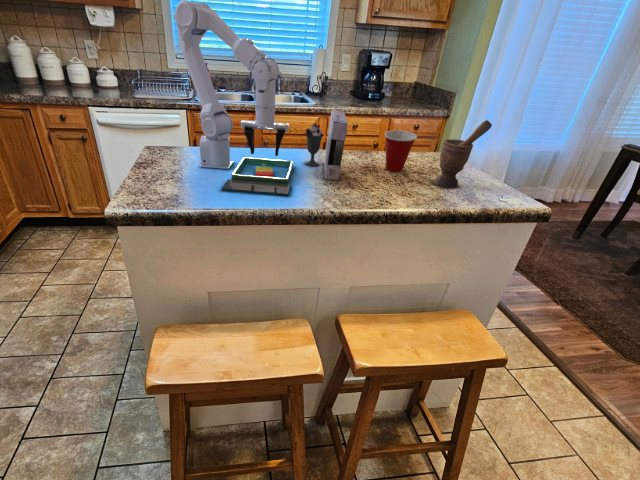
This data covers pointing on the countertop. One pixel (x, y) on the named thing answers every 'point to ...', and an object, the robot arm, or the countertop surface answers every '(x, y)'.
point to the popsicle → (264, 171)
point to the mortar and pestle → (457, 156)
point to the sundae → (313, 142)
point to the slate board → (256, 187)
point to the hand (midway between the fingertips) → (264, 154)
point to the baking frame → (260, 178)
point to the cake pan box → (335, 145)
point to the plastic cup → (398, 149)
